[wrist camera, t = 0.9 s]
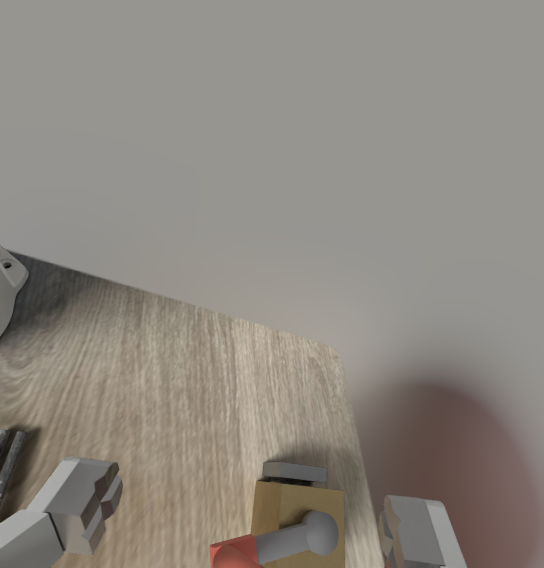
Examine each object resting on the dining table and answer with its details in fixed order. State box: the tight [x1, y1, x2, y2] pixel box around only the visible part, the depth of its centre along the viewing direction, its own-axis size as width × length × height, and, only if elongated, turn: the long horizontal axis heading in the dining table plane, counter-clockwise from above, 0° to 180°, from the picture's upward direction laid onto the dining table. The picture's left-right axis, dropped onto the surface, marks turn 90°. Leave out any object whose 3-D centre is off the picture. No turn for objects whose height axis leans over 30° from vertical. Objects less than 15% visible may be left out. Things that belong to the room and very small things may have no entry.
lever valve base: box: [251, 462, 345, 568], centre depth 35 cm, size 11×7×8 cm, turn 174°
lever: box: [210, 511, 339, 568], centre depth 26 cm, size 12×3×9 cm, turn 99°
